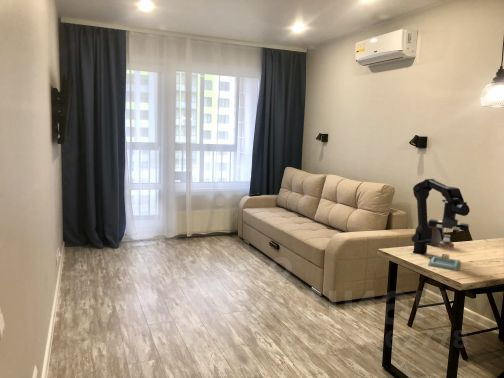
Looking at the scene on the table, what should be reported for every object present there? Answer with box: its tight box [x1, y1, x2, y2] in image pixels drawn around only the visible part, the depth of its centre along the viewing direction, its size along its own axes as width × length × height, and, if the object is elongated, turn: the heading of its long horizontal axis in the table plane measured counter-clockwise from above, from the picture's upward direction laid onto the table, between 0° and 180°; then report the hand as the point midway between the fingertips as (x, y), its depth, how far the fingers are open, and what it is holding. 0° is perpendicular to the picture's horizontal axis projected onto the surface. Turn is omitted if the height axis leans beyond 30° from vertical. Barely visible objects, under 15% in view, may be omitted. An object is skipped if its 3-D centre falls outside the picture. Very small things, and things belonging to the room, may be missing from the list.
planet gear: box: [437, 234, 455, 250], centre depth 214 cm, size 7×7×6 cm
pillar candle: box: [427, 220, 445, 247], centre depth 254 cm, size 10×10×15 cm
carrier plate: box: [427, 253, 461, 272], centre depth 217 cm, size 14×18×3 cm
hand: (446, 241), depth 214 cm, fingers closed on planet gear, 4 cm apart
